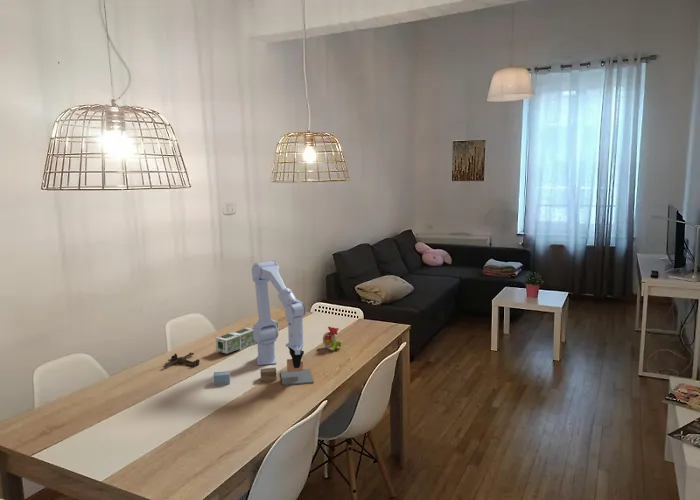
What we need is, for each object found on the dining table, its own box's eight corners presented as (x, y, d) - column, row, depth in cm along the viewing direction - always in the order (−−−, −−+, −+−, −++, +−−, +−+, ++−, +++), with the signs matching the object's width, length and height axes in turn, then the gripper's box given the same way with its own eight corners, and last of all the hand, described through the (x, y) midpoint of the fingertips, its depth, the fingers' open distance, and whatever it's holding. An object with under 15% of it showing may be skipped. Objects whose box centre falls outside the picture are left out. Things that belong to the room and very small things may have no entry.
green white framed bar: (266, 332, 265) (265, 318, 264) (278, 335, 261) (278, 320, 259) (213, 352, 236) (213, 336, 235) (227, 356, 232) (226, 340, 230)
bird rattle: (323, 354, 240) (338, 350, 235) (315, 331, 241) (330, 326, 236) (330, 350, 245) (345, 346, 240) (322, 328, 246) (337, 323, 241)
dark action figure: (181, 367, 212) (155, 358, 218) (181, 377, 213) (154, 368, 219) (211, 353, 228) (185, 345, 234) (210, 362, 229) (185, 354, 235)
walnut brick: (260, 378, 208) (260, 368, 208) (275, 376, 210) (275, 367, 209) (261, 381, 205) (260, 372, 204) (276, 380, 206) (276, 370, 206)
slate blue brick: (214, 381, 205) (214, 372, 204) (230, 380, 206) (229, 371, 205) (213, 385, 201) (213, 375, 201) (229, 384, 203) (229, 374, 202)
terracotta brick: (287, 368, 209) (286, 359, 208) (302, 367, 210) (301, 358, 209) (287, 372, 205) (287, 362, 205) (302, 371, 207) (302, 361, 206)
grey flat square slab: (280, 372, 213) (280, 371, 213) (309, 370, 216) (309, 368, 216) (282, 385, 201) (282, 384, 201) (313, 383, 203) (313, 381, 203)
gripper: (284, 328, 212) (284, 359, 214) (287, 339, 198) (287, 373, 200) (301, 326, 213) (301, 358, 215) (305, 338, 199) (306, 372, 201)
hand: (296, 365), depth 208 cm, fingers closed on terracotta brick, 3 cm apart
